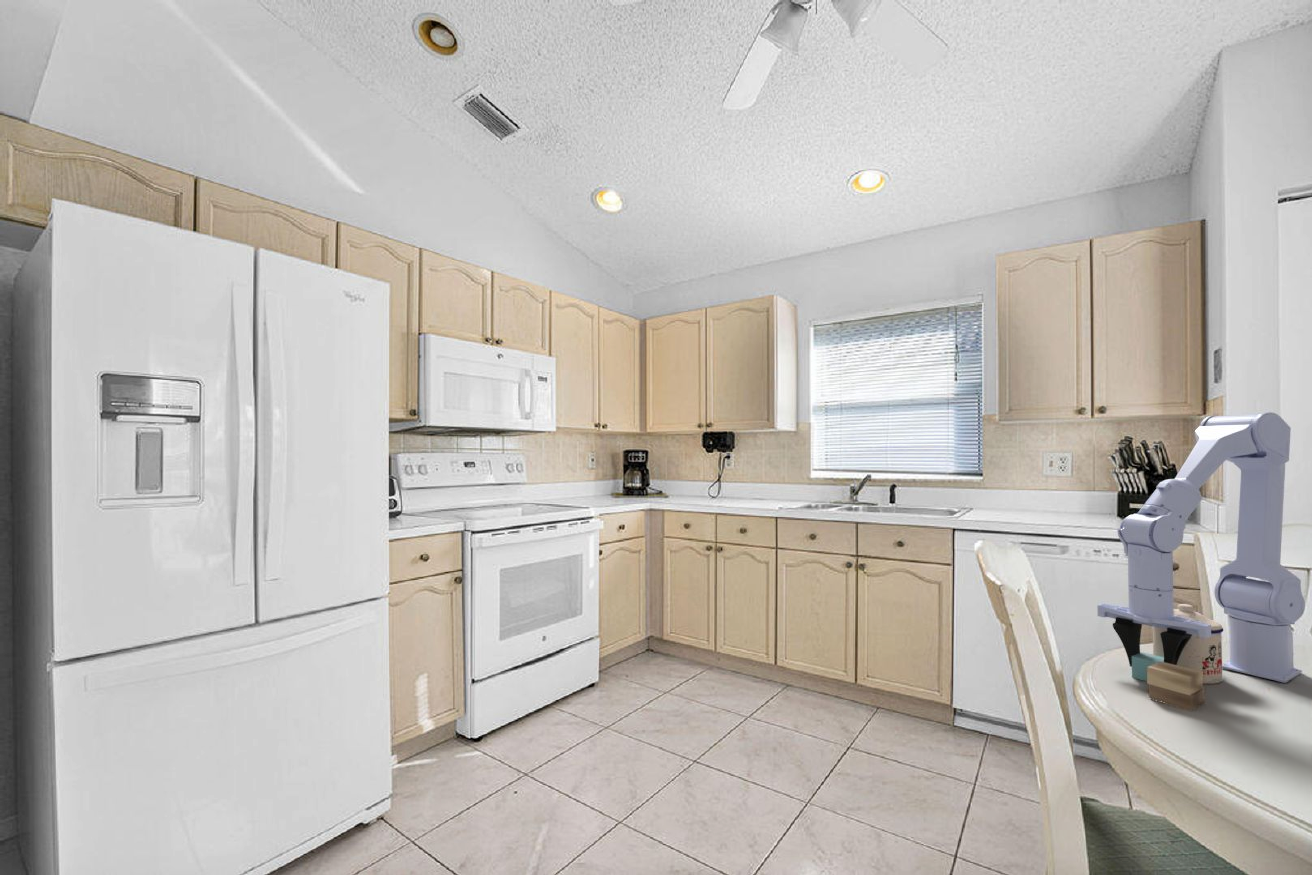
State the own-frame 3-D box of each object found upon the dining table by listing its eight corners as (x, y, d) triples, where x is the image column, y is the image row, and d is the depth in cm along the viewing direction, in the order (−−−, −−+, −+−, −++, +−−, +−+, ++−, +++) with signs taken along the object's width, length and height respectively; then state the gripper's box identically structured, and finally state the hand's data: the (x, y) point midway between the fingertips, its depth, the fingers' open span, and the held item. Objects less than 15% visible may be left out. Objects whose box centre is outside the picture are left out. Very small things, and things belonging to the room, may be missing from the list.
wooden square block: (1162, 693, 92) (1162, 677, 92) (1204, 705, 88) (1204, 688, 88) (1149, 700, 89) (1149, 684, 89) (1192, 713, 85) (1191, 695, 85)
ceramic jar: (1218, 689, 93) (1217, 615, 93) (1145, 672, 100) (1144, 603, 100) (1232, 672, 100) (1231, 603, 100) (1163, 657, 107) (1162, 593, 108)
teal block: (1142, 672, 100) (1142, 652, 100) (1172, 680, 96) (1171, 659, 97) (1131, 677, 98) (1131, 656, 98) (1162, 685, 94) (1161, 663, 94)
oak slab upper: (1160, 677, 92) (1160, 661, 92) (1202, 688, 88) (1202, 671, 88) (1147, 683, 90) (1147, 666, 90) (1189, 695, 85) (1189, 677, 85)
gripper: (1088, 581, 102) (1089, 661, 101) (1198, 599, 89) (1200, 690, 89) (1107, 577, 105) (1108, 654, 105) (1215, 594, 93) (1217, 681, 93)
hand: (1151, 670), depth 97 cm, fingers closed on teal block, 4 cm apart
